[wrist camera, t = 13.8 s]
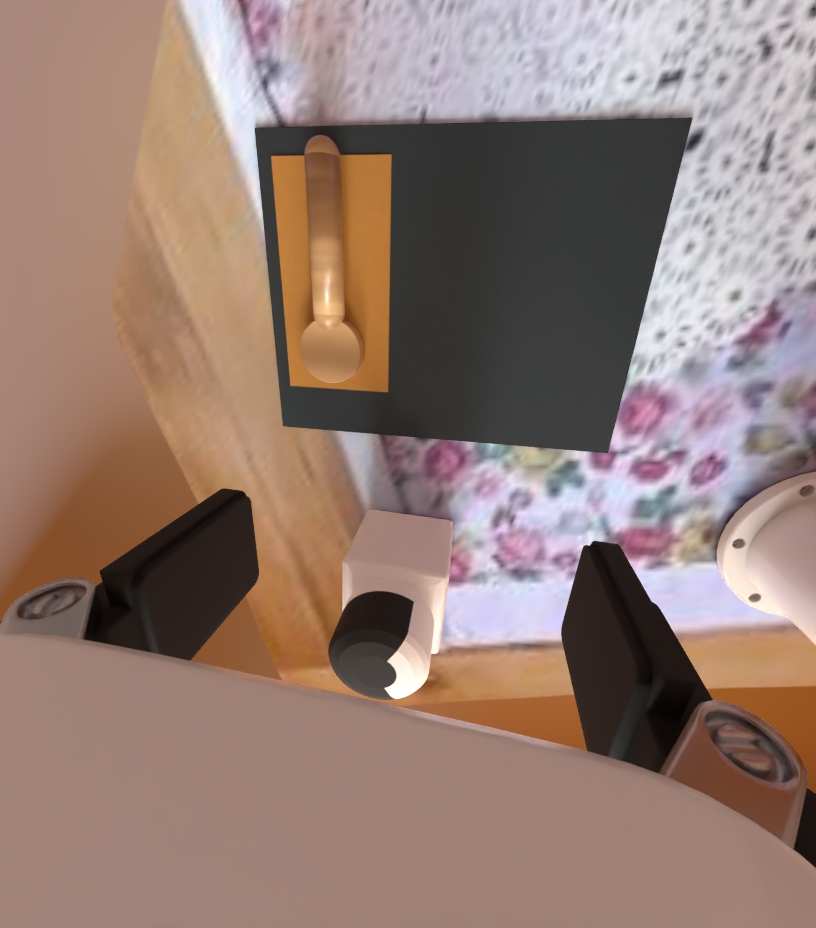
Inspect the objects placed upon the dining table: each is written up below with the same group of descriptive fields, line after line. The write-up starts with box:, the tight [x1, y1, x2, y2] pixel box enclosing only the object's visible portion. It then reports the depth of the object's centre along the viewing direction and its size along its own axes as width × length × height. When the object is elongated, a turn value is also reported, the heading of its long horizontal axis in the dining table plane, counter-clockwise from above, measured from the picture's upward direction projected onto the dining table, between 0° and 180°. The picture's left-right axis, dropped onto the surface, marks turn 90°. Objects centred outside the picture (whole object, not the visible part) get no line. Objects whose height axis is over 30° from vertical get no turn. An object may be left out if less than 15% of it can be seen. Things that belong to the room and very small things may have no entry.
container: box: [328, 509, 454, 700], centre depth 29 cm, size 8×8×13 cm
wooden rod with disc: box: [300, 135, 365, 383], centre depth 26 cm, size 15×5×2 cm, turn 178°
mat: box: [255, 118, 692, 453], centre depth 27 cm, size 26×20×1 cm
